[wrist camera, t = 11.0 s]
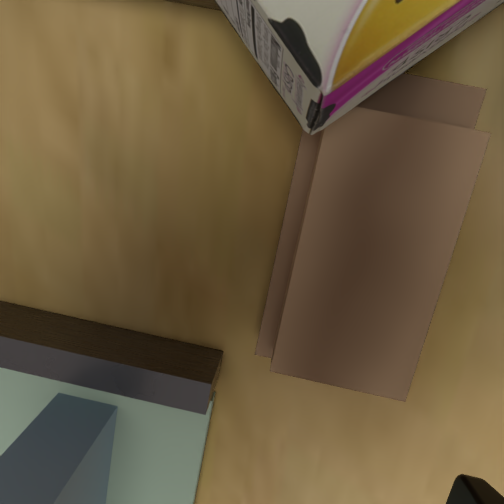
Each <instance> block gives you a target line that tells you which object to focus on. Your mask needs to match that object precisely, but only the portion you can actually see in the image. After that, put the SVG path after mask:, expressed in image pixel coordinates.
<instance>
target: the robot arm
mask: <svg viewBox="0 0 504 504" xmlns="http://www.w3.org/2000/svg"><path fill="white" fill-rule="evenodd" d="M446 504H504V497H503V496H502V495H501V494H500V493H498V492H497V491H496V490H495V489H494V488H493V487H492V486H491V485H489V484H488V483H487V482H486V481H485V480H483V479H481V478H477V477H473V476H468V475H464V474H461V475H458V476H457V477H456V479H455V481H454V483H453V486H452V489H451V491H450V494H449V497H448V499H447V502H446Z"/></svg>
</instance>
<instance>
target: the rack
mask: <svg viewBox="0 0 504 504" xmlns="http://www.w3.org/2000/svg"><path fill="white" fill-rule="evenodd" d="M167 1H172V2H177V3H183V4H188V5H193V6H199V7H204V8H209V9H215V10H220V11H221V9H220V8H219V6H218V5H217V3H216V2H215V1H214V0H167ZM222 355H223V351H220V350H216V349H211V348H207V347H202V346H198V345H193V344H189V343H184V342H180V341H176V340H171V339H167V338H162V337H158V336H153V335H149V334H144V333H140V332H136V331H131V330H127V329H122V328H118V327H113V326H109V325H104V324H100V323H96V322H91V321H87V320H82V319H78V318H73V317H69V316H64V315H60V314H55V313H51V312H47V311H42V310H38V309H33V308H29V307H24V306H20V305H15V304H11V303H7V302H2V301H0V367H1V368H5V369H9V370H14V371H18V372H22V373H26V374H31V375H35V376H39V377H44V378H48V379H52V380H57V381H61V382H65V383H69V384H74V385H78V386H82V387H87V388H91V389H95V390H100V391H104V392H108V393H112V394H117V395H121V396H125V397H130V398H134V399H138V400H143V401H147V402H151V403H156V404H160V405H164V406H168V407H173V408H177V409H181V410H186V411H190V412H194V413H199V414H203V415H206V413H207V410H208V407H209V404H210V401H211V398H212V395H213V392H214V389H215V386H216V383H217V380H218V376H219V371H220V366H221V361H222Z"/></svg>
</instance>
